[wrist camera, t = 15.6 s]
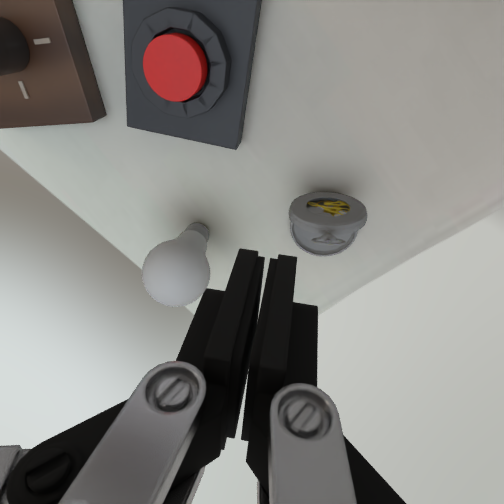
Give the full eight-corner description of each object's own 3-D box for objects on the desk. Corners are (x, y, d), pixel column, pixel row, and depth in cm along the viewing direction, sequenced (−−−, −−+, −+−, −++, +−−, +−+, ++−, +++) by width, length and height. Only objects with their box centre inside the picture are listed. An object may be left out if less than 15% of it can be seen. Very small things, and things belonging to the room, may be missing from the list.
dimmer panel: (-68, -43, 30) (-99, -47, 28) (53, -64, 28) (30, -70, 26) (6, 122, 37) (-14, 130, 35) (107, 115, 35) (92, 122, 33)
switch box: (134, -41, 28) (108, -47, 24) (263, -16, 27) (256, -18, 24) (137, 120, 35) (117, 132, 31) (240, 142, 34) (232, 157, 31)
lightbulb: (204, 261, 43) (173, 331, 34) (162, 228, 41) (117, 291, 32) (238, 230, 40) (214, 297, 31) (194, 193, 38) (154, 252, 29)
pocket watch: (311, 260, 40) (308, 325, 32) (269, 199, 37) (254, 255, 29) (383, 228, 37) (401, 292, 29) (344, 158, 34) (351, 207, 25)
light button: (151, 27, 27) (142, 28, 25) (210, 39, 27) (204, 41, 25) (151, 91, 29) (142, 95, 28) (205, 102, 29) (199, 107, 28)
